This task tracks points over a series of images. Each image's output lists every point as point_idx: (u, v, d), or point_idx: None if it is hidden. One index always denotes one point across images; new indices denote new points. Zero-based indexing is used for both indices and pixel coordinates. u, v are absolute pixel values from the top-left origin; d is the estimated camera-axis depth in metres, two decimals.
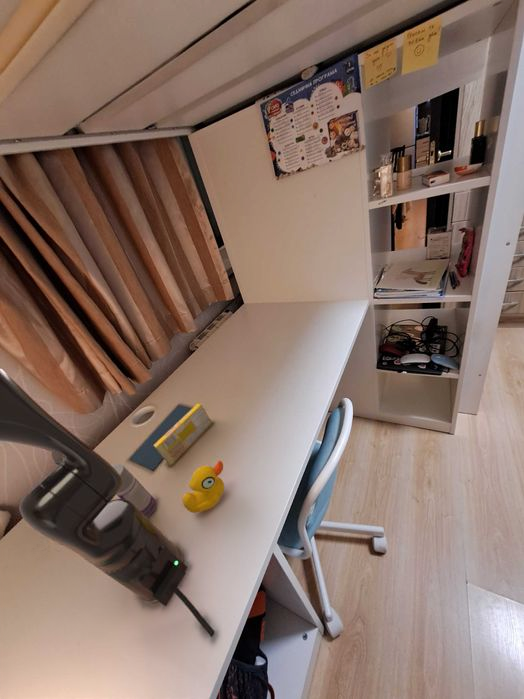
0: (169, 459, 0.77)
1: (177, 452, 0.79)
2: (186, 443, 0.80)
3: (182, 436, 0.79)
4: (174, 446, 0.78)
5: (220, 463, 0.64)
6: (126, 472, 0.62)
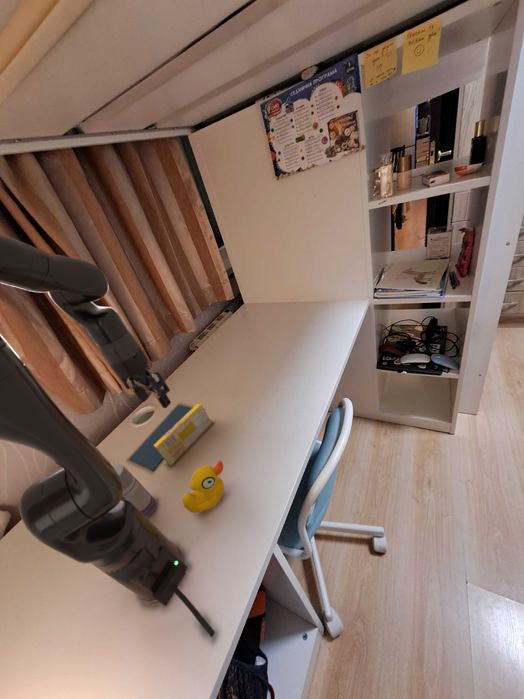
0: (169, 459, 0.77)
1: (177, 452, 0.79)
2: (186, 443, 0.80)
3: (182, 436, 0.79)
4: (175, 446, 0.78)
5: (220, 463, 0.64)
6: (126, 472, 0.62)
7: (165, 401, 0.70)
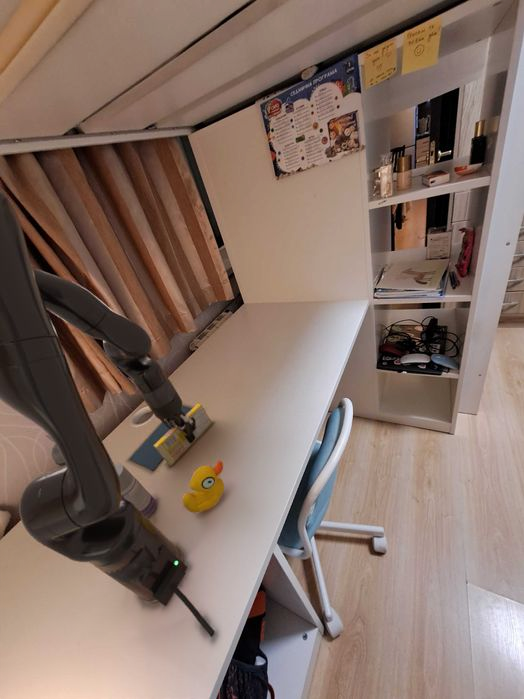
0: (169, 459, 0.77)
1: (177, 452, 0.79)
2: (186, 443, 0.80)
3: (182, 436, 0.79)
4: (175, 446, 0.78)
5: (220, 463, 0.64)
6: (126, 472, 0.62)
7: (191, 437, 0.79)
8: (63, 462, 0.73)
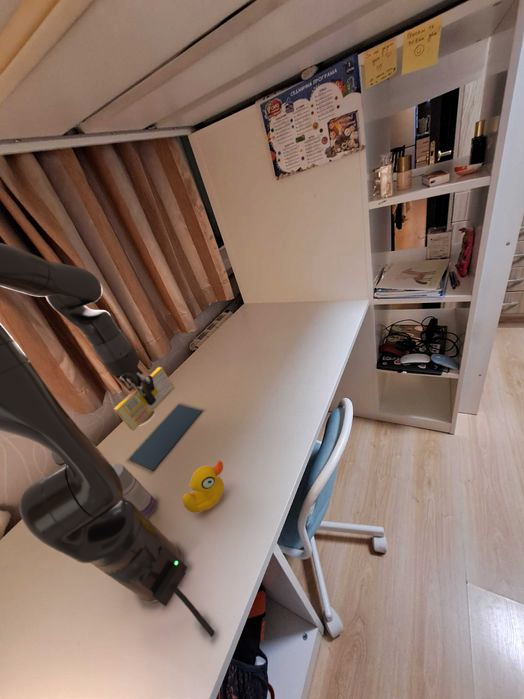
0: (132, 424, 0.74)
1: (140, 416, 0.76)
2: (148, 407, 0.78)
3: (144, 399, 0.77)
4: (137, 409, 0.75)
5: (220, 463, 0.64)
6: (126, 472, 0.62)
7: (150, 399, 0.77)
8: (63, 462, 0.73)
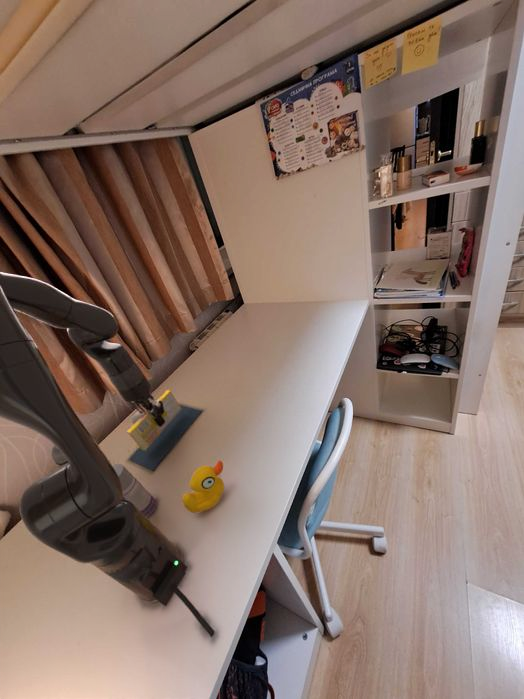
0: (143, 444, 0.81)
1: (150, 437, 0.82)
2: (158, 428, 0.84)
3: None
4: (148, 431, 0.81)
5: (220, 463, 0.64)
6: (126, 472, 0.62)
7: (160, 421, 0.83)
8: (63, 462, 0.73)
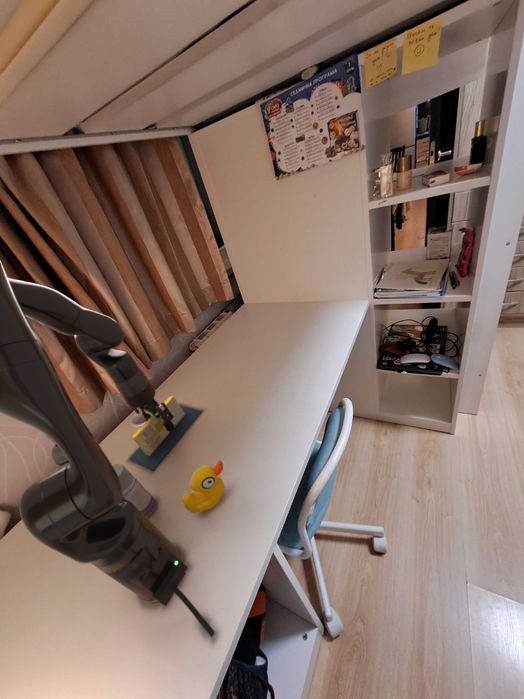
0: (148, 450, 0.82)
1: (155, 442, 0.84)
2: (162, 433, 0.86)
3: (158, 427, 0.84)
4: (152, 436, 0.83)
5: (220, 463, 0.64)
6: (126, 472, 0.62)
7: (169, 426, 0.82)
8: (63, 462, 0.73)
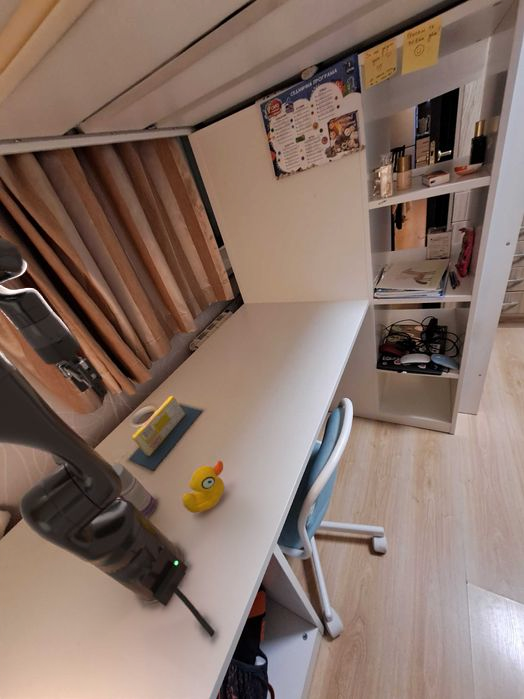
0: (148, 450, 0.82)
1: (155, 442, 0.84)
2: (162, 433, 0.86)
3: (158, 427, 0.84)
4: (152, 436, 0.83)
5: (220, 463, 0.64)
6: (126, 472, 0.62)
7: (99, 390, 0.66)
8: (63, 462, 0.73)
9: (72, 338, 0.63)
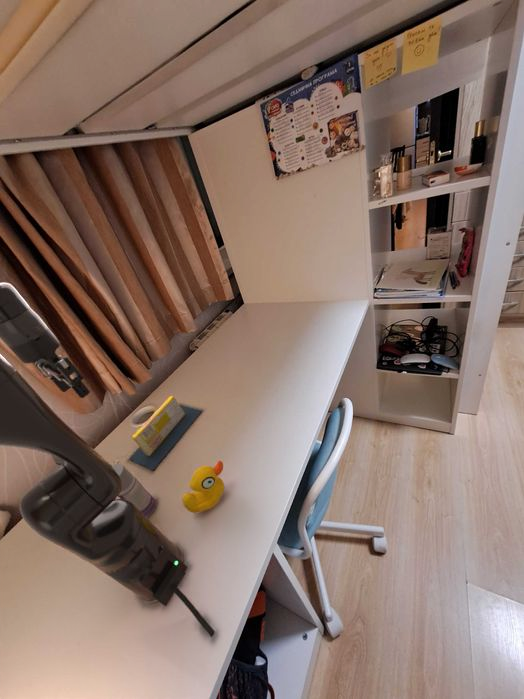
0: (148, 450, 0.82)
1: (155, 442, 0.84)
2: (162, 433, 0.86)
3: (158, 427, 0.84)
4: (152, 436, 0.83)
5: (220, 463, 0.64)
6: (126, 472, 0.62)
7: (80, 390, 0.63)
8: (63, 462, 0.73)
9: (51, 335, 0.60)
